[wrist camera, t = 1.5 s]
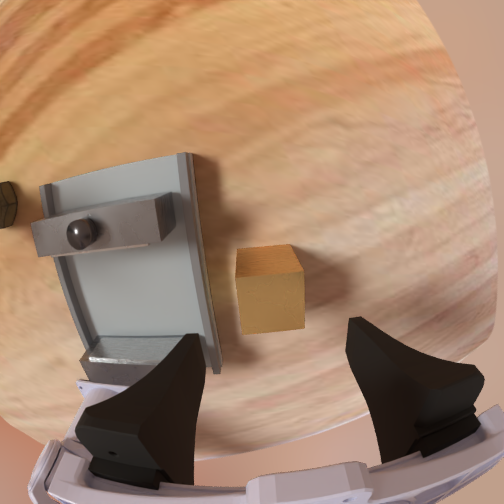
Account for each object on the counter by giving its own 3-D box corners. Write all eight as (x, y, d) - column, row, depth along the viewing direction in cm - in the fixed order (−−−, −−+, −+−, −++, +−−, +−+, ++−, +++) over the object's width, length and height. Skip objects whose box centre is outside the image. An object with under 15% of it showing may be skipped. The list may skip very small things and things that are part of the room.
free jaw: (177, 229, 19) (156, 251, 15) (66, 244, 19) (31, 265, 15) (171, 191, 18) (148, 201, 14) (60, 211, 18) (21, 226, 14)
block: (291, 291, 23) (304, 328, 17) (242, 295, 23) (242, 334, 17) (289, 243, 21) (304, 271, 16) (237, 248, 21) (235, 277, 16)
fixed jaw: (203, 356, 23) (197, 388, 19) (106, 355, 23) (90, 382, 19) (197, 332, 22) (190, 362, 19) (96, 332, 22) (78, 358, 19)
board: (222, 359, 25) (221, 373, 23) (101, 358, 25) (94, 370, 23) (192, 152, 19) (186, 152, 17) (52, 183, 19) (38, 186, 17)
